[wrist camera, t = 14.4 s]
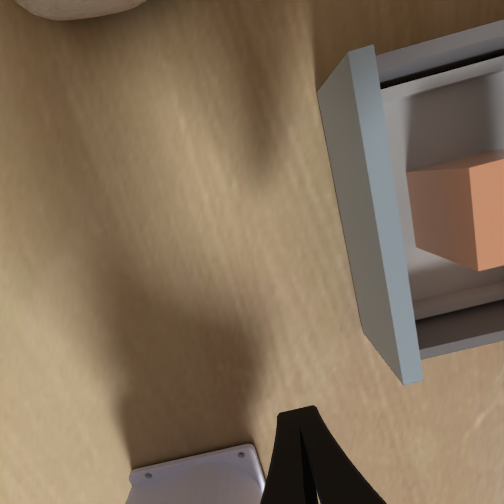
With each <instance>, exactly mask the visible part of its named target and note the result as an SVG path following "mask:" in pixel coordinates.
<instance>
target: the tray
mask: <svg viewBox="0 0 504 504" xmlns="http://www.w3.org/2000/svg"><path fill="white" fill-rule="evenodd" d="M317 96H318V101H319V106H320V112H321V117H322V122H323V127H324V132H325V137H326V143H327V148H328V153H329V158H330V163H331V169H332V174H333V179H334V184H335V189H336V194H337V200H338V205H339V210H340V215H341V220H342V226H343V231H344V236H345V241H346V246H347V251H348V257H349V262H350V267H351V272H352V277H353V283H354V288H355V293H356V298H357V303H358V308H359V314H360V319H361V324H362V329H363V333H364V334H365V336H366V337H367V338H368V340H369V341H370V342H371V344H372V345H373V346H374V347H375V349H376V350H377V351H378V353H379V354H380V355H381V357H382V358H383V359H384V361H385V362H386V363H387V364H388V366H389V367H390V368H391V370H392V371H393V372H394V374H395V375H396V376H397V378H398V379H399V380H400V382H401V383H402V384H403V385H408V384H412V383H416V382H421V381H424V379H423V372H422V365H421V358H420V352H419V345H418V338H417V332H416V325H415V320H418V319H422V318H427V317H431V316H435V315H439V314H443V313H447V312H452V311H456V310H460V309H464V308H468V307H473V306H477V305H481V304H485V303H489V302H493V301H498V300H502V299H504V265H503V266H499V267H495V268H491V269H487V270H482V271H476V270H473V269H471V268H468V267H465V266H463V265H460V264H458V263H455V262H452V261H450V260H447V259H445V258H442V257H440V256H437V255H434V254H432V253H429V252H427V251H424V250H421V249H419V248H416V244H415V236H414V229H413V222H412V215H411V207H410V200H409V193H408V185H407V178H406V172H408V171H412V170H416V169H420V168H424V167H428V166H431V165H435V164H439V163H443V162H447V161H451V160H454V159H458V158H462V157H466V156H470V155H474V154H477V153H481V152H485V151H492V150H500V149H504V56H500V57H497V58H493V59H490V60H486V61H482V62H479V63H475V64H472V65H468V66H464V67H461V68H457V69H453V70H450V71H446V72H443V73H439V74H435V75H432V76H428V77H425V78H421V79H417V80H414V81H410V82H407V83H403V84H399V85H396V86H392V87H388V88H385V89H380V82H379V75H378V69H377V62H376V55H375V49H374V44H373V45H369V46H366V47H362V48H359V49H355V50H352V51H348V52H347V53H346V55H345V56H344V57H343V59H342V60H341V61H340V63H339V64H338V65H337V67H336V68H335V69H334V71H333V72H332V73H331V75H330V76H329V77H328V79H327V80H326V81H325V83H324V84H323V85H322V86H321V88H320V89H319V90H318V92H317Z"/></svg>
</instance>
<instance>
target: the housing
mask: <svg viewBox="0 0 504 504" xmlns="http://www.w3.org/2000/svg"><path fill="white" fill-rule="evenodd" d="M500 54H504V19H503V20H500V21H496V22H492V23H489V24H485V25H482V26H478V27H475V28H471V29H468V30H464V31H461V32H457V33H454V34H450V35H446V36H443V37H439V38H436V39H432V40H429V41H425V42H422V43H418V44H415V45H411V46H407V47H404V48H400V49H397V50H393V51H390V52H386V53H383V54H379V55H376V62H377V69H378V75H379V82H380V88H381V87H385V86H389V85H392V84H396V83H399V82H403V81H407V80H410V79H414V78H417V77H421V76H425V75H428V74H432V73H435V72H439V71H443V70H446V69H450V68H454V67H457V66H461V65H464V64H468V63H472V62H475V61H479V60H482V59H486V58H490V57H493V56H497V55H500ZM415 325H416V332H417V338H418V345H419V352H420V358H421V360H422V359H426V358H431V357H435V356H439V355H443V354H448V353H452V352H456V351H461V350H465V349H469V348H474V347H478V346H482V345H486V344H491V343H495V342H499V341H504V299H502V300H498V301H493V302H489V303H485V304H481V305H477V306H473V307H468V308H464V309H460V310H456V311H452V312H447V313H443V314H439V315H435V316H431V317H427V318H422V319H418V320H415Z"/></svg>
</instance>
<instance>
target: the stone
mask: <svg viewBox="0 0 504 504" xmlns="http://www.w3.org/2000/svg"><path fill="white" fill-rule="evenodd" d="M14 1H15V2H16V3H17V4H19V5H20V6H22V7H23V8H24V9H26V10H27V11H28V12H30V13H31V14H33V15H35V16H39V17H42V18H46V19H50V20H56V21H63V20H76V19H86V18H93V17H99V16H105V15H110V14H114V13H119V12H124V11H127V10H130V9H133V8H135V7H137V6H139V5H140V4H142V3H144V2H145V1H147V0H14Z"/></svg>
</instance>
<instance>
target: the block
mask: <svg viewBox="0 0 504 504" xmlns="http://www.w3.org/2000/svg"><path fill="white" fill-rule="evenodd" d="M406 178H407V185H408V193H409V200H410V207H411V215H412V222H413V229H414V236H415V244H416V248H419V249H421V250H424V251H427V252H429V253H432V254H434V255H437V256H440V257H442V258H445V259H447V260H450V261H452V262H455V263H458V264H460V265H463V266H465V267H468V268H471V269H473V270H476V271H482V270H487V269H491V268H495V267H499V266H503V265H504V149H500V150H492V151H485V152H481V153H477V154H474V155H470V156H466V157H462V158H458V159H454V160H451V161H447V162H443V163H439V164H435V165H431V166H428V167H424V168H420V169H416V170H412V171H408V172H406Z"/></svg>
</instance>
